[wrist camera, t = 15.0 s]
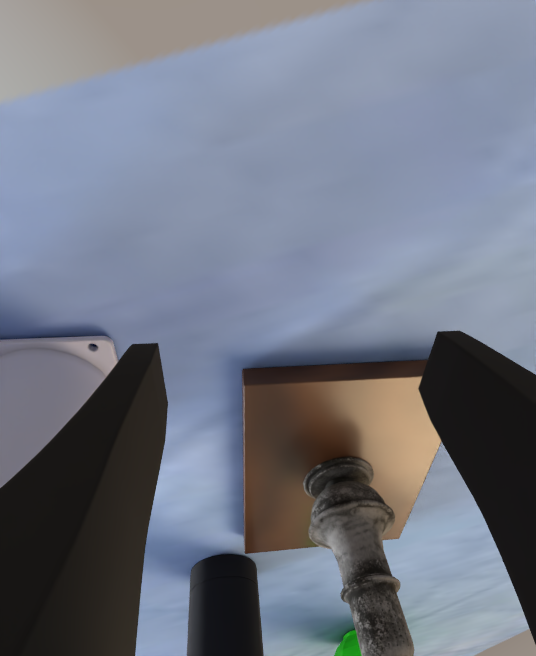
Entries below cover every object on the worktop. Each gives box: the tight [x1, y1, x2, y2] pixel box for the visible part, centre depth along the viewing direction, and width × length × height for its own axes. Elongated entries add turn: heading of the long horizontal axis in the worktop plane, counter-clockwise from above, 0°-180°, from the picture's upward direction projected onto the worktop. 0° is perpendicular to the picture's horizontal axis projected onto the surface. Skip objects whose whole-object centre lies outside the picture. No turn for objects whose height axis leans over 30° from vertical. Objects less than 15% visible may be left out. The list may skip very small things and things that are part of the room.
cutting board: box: [242, 360, 441, 554], centre depth 30 cm, size 14×20×2 cm
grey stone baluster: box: [303, 457, 414, 656], centre depth 24 cm, size 6×6×12 cm
